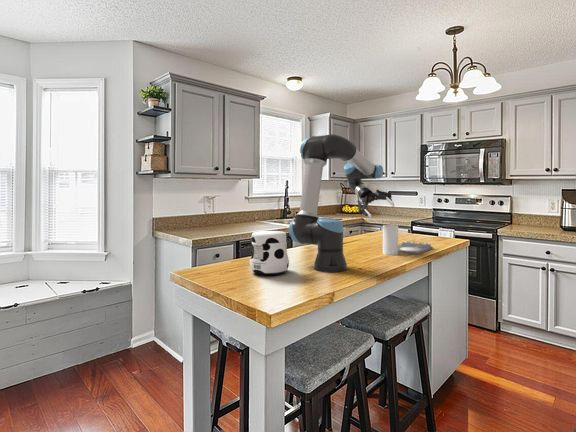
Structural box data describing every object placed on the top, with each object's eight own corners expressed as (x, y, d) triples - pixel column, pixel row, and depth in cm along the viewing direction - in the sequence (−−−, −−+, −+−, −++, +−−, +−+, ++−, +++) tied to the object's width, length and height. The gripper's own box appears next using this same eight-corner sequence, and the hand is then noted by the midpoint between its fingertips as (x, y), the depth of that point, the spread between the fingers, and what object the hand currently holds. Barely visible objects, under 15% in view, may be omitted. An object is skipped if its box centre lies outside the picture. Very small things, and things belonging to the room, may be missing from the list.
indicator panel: (417, 254, 192) (417, 247, 192) (386, 251, 204) (386, 244, 204) (432, 248, 210) (433, 242, 210) (403, 245, 222) (404, 239, 222)
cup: (382, 254, 194) (382, 226, 193) (383, 252, 202) (383, 224, 200) (398, 255, 192) (398, 226, 190) (397, 252, 199) (398, 224, 198)
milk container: (288, 267, 166) (287, 230, 165) (289, 277, 149) (289, 235, 148) (251, 268, 166) (250, 230, 164) (249, 278, 148) (247, 236, 147)
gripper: (384, 187, 206) (404, 204, 189) (347, 208, 206) (363, 227, 189) (381, 177, 202) (401, 194, 185) (343, 198, 202) (359, 217, 185)
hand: (382, 210), depth 187 cm, fingers open, 13 cm apart
